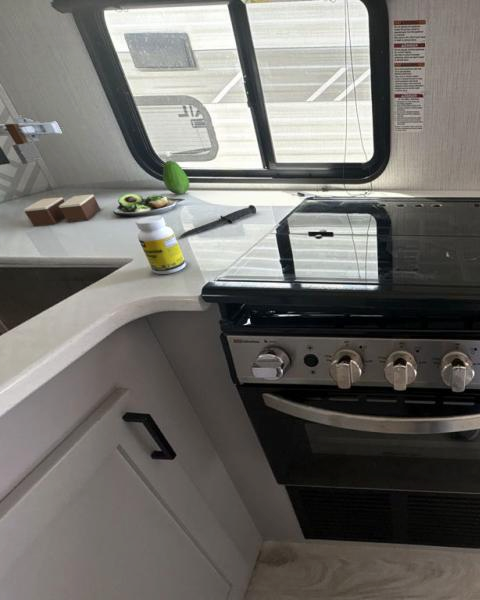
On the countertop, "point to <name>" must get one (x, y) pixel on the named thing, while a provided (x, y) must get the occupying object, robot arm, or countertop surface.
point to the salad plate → (144, 205)
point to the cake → (62, 210)
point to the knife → (223, 220)
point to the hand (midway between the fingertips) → (13, 130)
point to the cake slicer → (22, 145)
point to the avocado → (175, 178)
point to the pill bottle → (160, 245)
